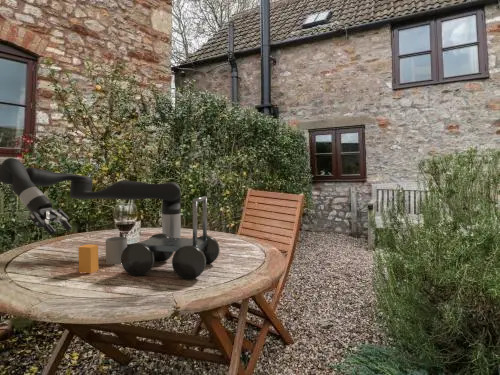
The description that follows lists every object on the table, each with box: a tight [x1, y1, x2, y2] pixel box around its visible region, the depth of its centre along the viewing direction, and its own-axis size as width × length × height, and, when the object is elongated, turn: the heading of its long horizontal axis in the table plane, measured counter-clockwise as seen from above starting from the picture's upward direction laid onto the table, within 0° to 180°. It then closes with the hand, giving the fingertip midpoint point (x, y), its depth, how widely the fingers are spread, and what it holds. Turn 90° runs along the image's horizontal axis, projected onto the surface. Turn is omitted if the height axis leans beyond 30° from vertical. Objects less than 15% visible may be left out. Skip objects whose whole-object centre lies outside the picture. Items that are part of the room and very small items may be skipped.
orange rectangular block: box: [78, 244, 99, 274], centre depth 124 cm, size 5×4×10 cm
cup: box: [105, 236, 128, 265], centre depth 137 cm, size 8×8×10 cm
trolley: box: [121, 195, 221, 281], centre depth 127 cm, size 32×21×29 cm
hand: (62, 231), depth 125 cm, fingers open, 8 cm apart
